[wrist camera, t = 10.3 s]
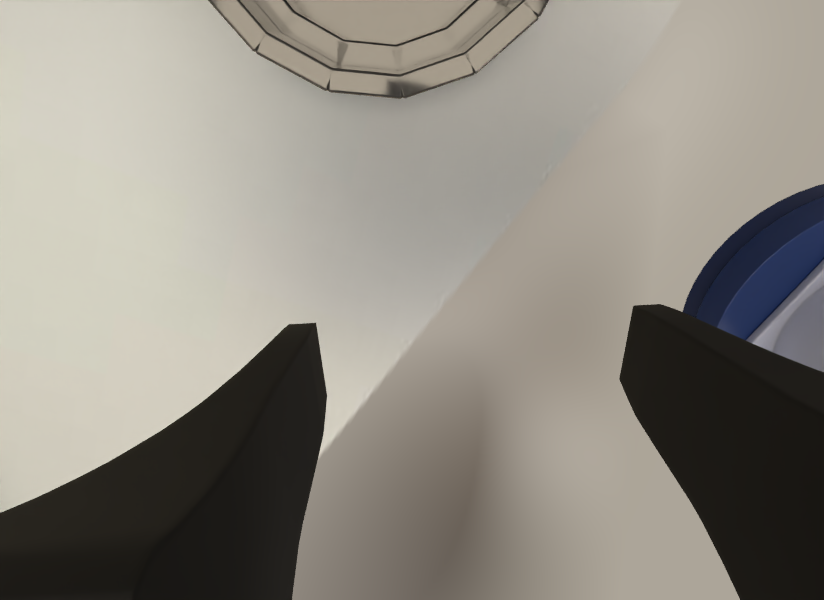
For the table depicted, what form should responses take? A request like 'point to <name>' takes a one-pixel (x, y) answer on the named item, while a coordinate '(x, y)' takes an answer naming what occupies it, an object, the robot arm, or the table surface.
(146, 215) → the table surface
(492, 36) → the bowl
